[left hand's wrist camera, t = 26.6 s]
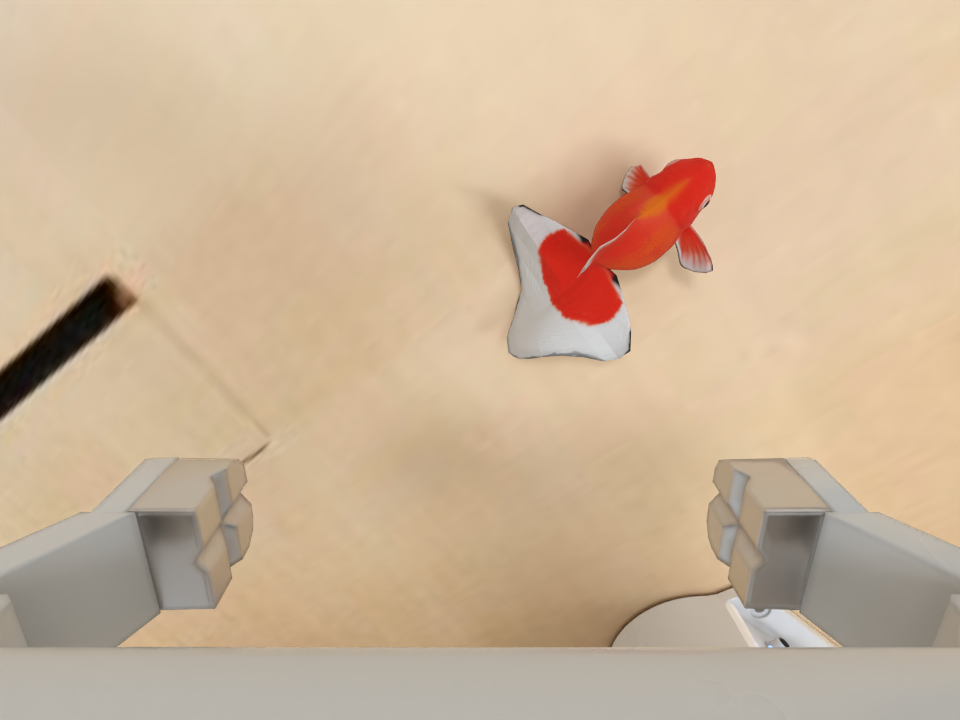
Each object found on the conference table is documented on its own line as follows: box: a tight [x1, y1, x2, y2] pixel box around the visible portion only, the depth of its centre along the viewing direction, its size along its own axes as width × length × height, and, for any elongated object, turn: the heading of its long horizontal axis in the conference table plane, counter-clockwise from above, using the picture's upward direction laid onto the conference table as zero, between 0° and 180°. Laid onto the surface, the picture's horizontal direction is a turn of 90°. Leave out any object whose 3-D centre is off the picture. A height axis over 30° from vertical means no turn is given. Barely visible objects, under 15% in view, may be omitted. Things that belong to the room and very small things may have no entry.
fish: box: [507, 158, 716, 361], centre depth 35 cm, size 11×16×10 cm
